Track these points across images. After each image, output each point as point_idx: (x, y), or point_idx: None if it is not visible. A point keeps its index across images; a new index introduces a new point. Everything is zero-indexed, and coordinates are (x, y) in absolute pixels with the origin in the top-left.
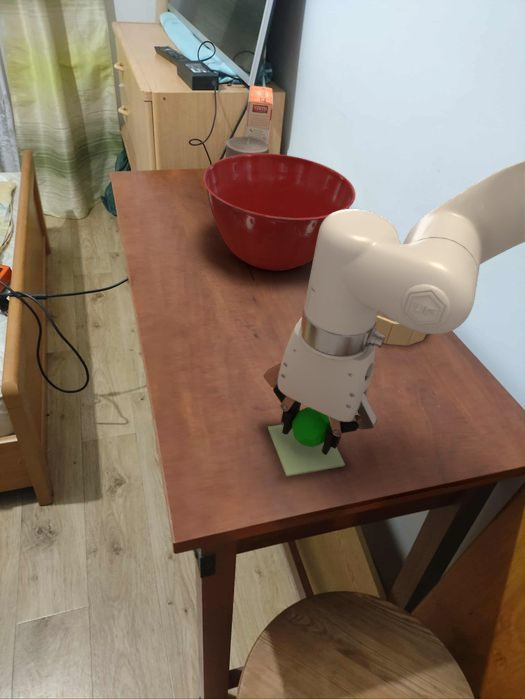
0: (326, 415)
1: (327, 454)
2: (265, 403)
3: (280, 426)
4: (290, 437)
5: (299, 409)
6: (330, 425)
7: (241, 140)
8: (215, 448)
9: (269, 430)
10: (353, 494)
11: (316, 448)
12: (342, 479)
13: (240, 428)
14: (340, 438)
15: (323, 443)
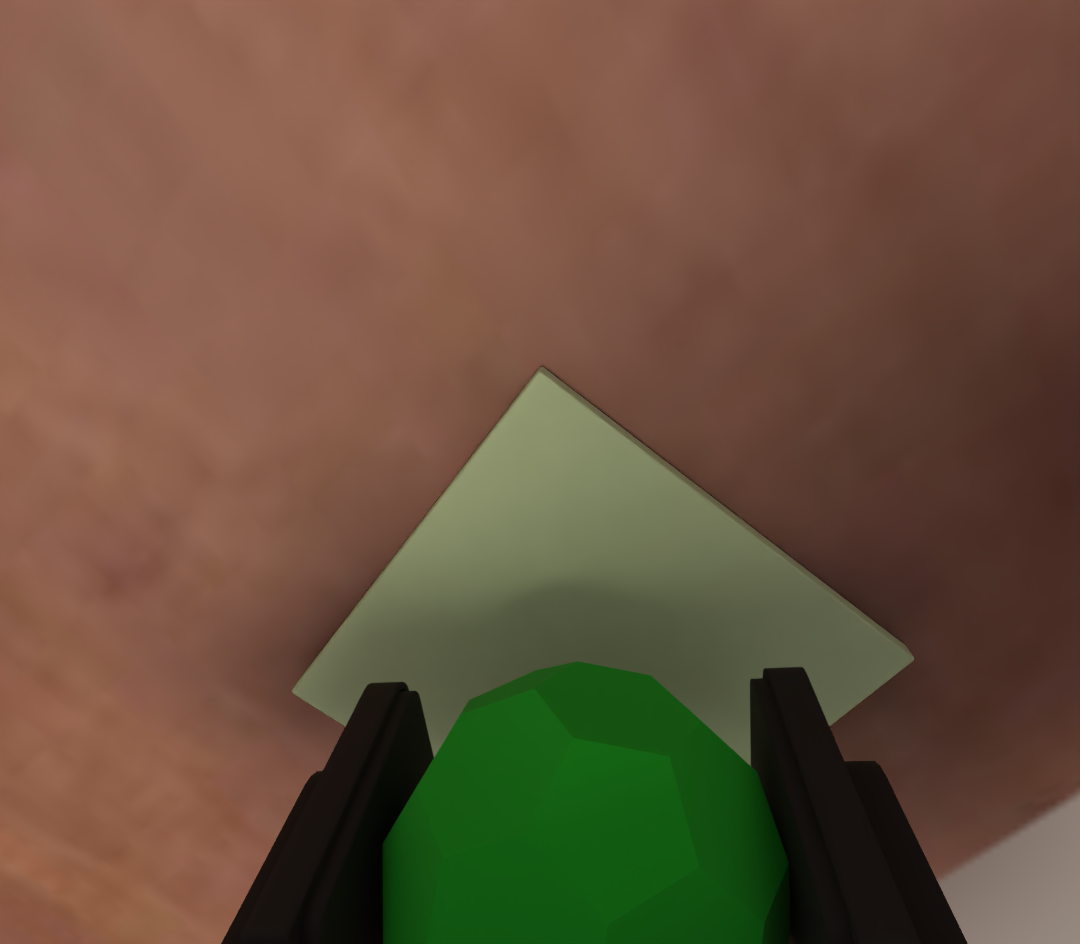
0: (681, 902)
1: (758, 657)
2: (114, 507)
3: (346, 649)
4: (461, 681)
5: (364, 825)
6: (776, 904)
7: None
8: (215, 911)
9: (319, 707)
10: (1038, 783)
11: (663, 661)
12: (930, 733)
13: (189, 761)
14: (894, 800)
15: (684, 594)
